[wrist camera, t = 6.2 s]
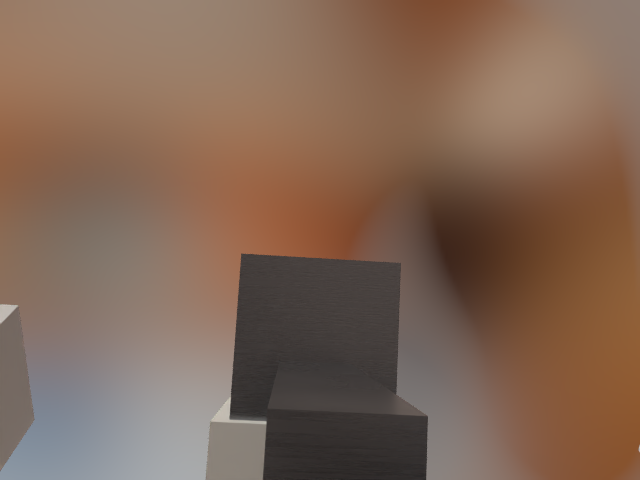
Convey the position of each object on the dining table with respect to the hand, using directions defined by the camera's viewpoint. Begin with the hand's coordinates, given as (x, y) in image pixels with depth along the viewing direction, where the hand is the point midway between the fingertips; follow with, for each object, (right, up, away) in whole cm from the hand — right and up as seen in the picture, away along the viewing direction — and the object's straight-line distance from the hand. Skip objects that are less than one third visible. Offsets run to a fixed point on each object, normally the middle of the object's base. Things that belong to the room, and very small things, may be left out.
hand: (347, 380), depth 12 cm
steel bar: (-1, -2, +3) cm, 4 cm away
